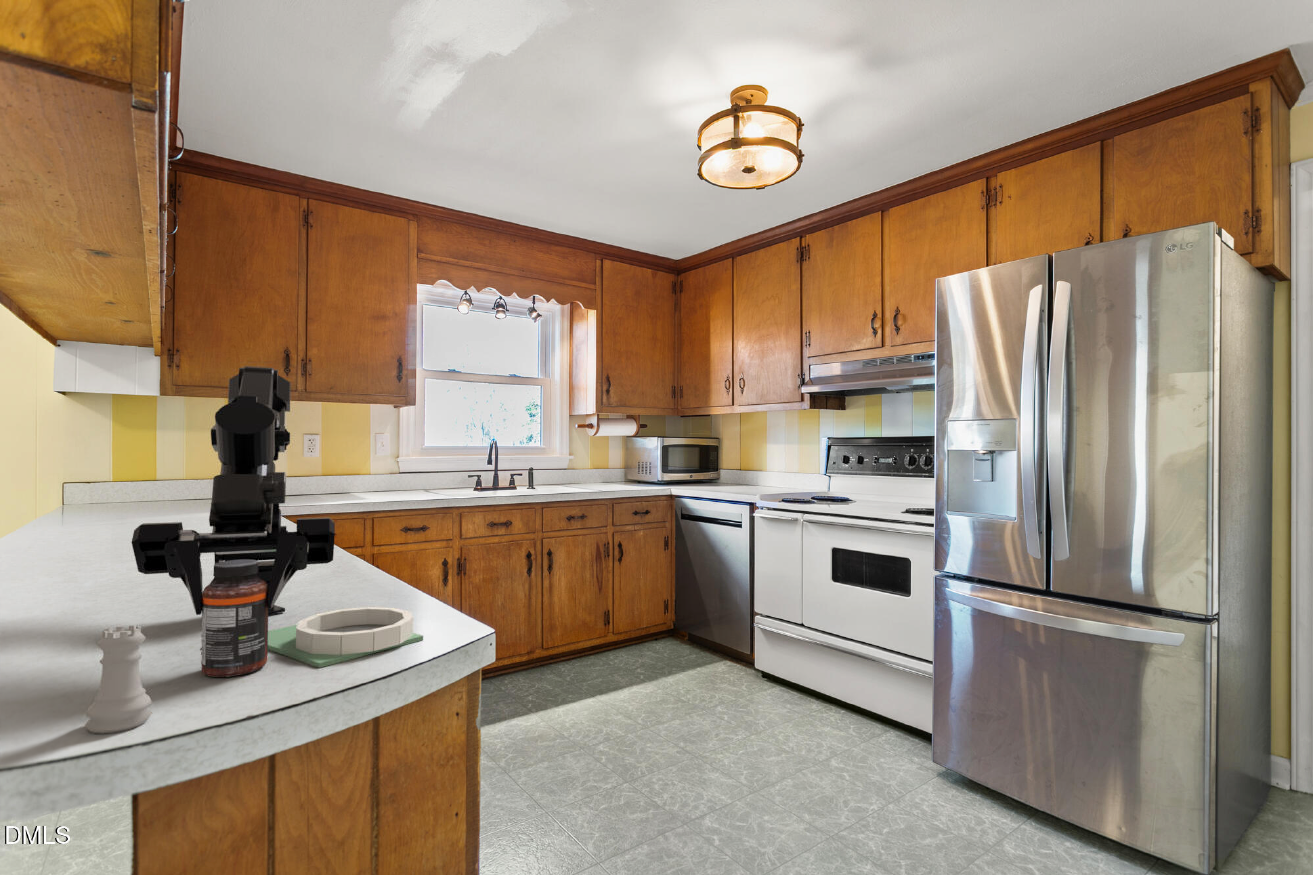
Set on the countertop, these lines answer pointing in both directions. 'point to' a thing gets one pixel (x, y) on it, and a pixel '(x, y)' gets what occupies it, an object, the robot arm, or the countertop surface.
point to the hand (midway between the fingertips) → (234, 609)
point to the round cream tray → (353, 630)
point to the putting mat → (286, 645)
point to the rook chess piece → (119, 684)
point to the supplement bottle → (234, 620)
